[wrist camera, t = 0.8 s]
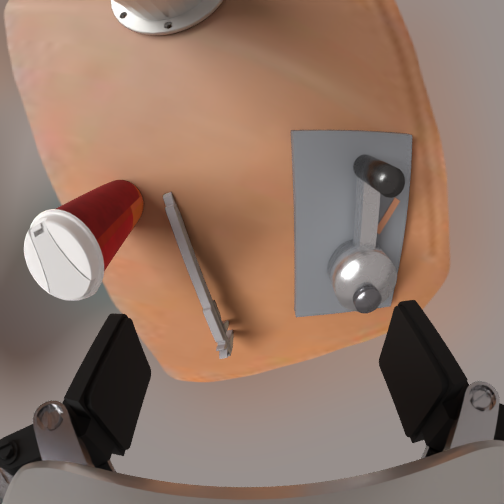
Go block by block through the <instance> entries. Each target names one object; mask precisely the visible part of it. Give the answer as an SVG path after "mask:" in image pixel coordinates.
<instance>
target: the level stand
mask: <svg viewBox="0 0 504 504" xmlns="http://www.w3.org/2000/svg"><path fill="white" fill-rule="evenodd" d="M291 145H292V168H293V196H294V246H295V307H294V310H295V315H296V317H304V316H314V315H324V314H334V313H343V312H351V311H352V310H349V309H346V308H345V307H343V306H342V305H341V304H340V302H339V301H338V299H337V296H336V294H335V292H334V289H333V287H332V284H331V282H330V280H329V277H328V273H327V267H328V262H329V259H330V257H331V255H332V254H333V252H334V251H335V250H336V249H337V248H338V247H339V246H340V245H342V244H343V243H345V242H347V241H349V240H351V239H354V226H355V210H356V188H357V176H356V175H355V173H354V170H353V165H354V162H355V160H356V159H357V158H358V157H359V156H361V155H364V154H367V155H370V156H372V157H375V158H377V159H379V160H381V161H384V162H386V163H388V164H390V165H392V166H394V167H397V168H398V169H400V170H401V171H402V172H403V174H404V177H405V186H404V189H403V190H402V192H401V193H400V194H399V195H398V196H396V197H393V198H388V197H385V196H383V195H382V194H381V193H380V206H379V218H378V228H377V238H376V244H377V245H378V246H379V247H380V248H381V249H382V251H383V252H384V253H385V254H386V255H387V257H388V258H389V259H390V260H391V262H392V263H393V264H394V266H395V268H396V271H397V273H398V268H399V263H400V257H401V251H402V245H403V239H404V232H405V225H406V217H407V208H408V199H409V188H410V175H411V158H412V135H410V134H406V133H394V132H379V131H359V130H291ZM393 293H394V290H393V292H392V293H391V295H390V296H389V297H388V298H387V299H386V300H385V301H384V302H383V303H382V304H380V305H379V306H378V307H377V308H382V307H389V306H391V302H392V297H393Z"/></svg>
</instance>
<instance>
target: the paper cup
mask: <svg viewBox="0 0 504 504" xmlns="http://www.w3.org/2000/svg"><path fill="white" fill-rule="evenodd" d="M142 212H143V198H142V195H141V193H140V191H139V190H138V189H137V187H136V186H134V185H133V184H132V183H130V182H128V181H125V180H116V181H112V182H109V183H107V184H105V185H102V186H100V187H98V188H96V189H94V190H92V191H90V192H88V193H86V194H84V195H82V196H80V197H78V198H76V199H74V200H72V201H70V202H68V203H66V204H64V205H62V206H60V207H58V208H57V209H50V210H46V211H44V212H42V213H40V214H39V215H38V216H37V217H36V218H35V219H34V220H33V222H32V224H31V226H30V229H29V230H28V233H27V235H26V238H25V242H24V254H25V259H26V263H27V266H28V268H29V270H30V272H31V274H32V276H33V277H34V279H35V280H36V282H37V283H38V284H39V285H40V286H41V287H42V288H43V289H44V290H45V291H47V292H48V293H49V294H51V295H53V296H55V297H58V298H60V299H64V300H81V299H83V298H87V297H90V296H92V295H93V294H95V293H96V292H97V289H98V288H99V286H100V284H101V282H102V279H103V276H104V271H105V269H106V268H107V266H108V265H109V263H110V262H111V260H112V259H113V257H114V256H115V254H116V253H117V251H118V250H119V248H120V247H121V245H122V244H123V242H124V241H125V239H126V238H127V236H128V235H129V233H130V232H131V231H132V229H133V228H134V226H135V225H136V223H137V222H138V220H139V218H140V217H141V215H142Z"/></svg>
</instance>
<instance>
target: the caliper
mask: <svg viewBox="0 0 504 504" xmlns="http://www.w3.org/2000/svg"><path fill="white" fill-rule="evenodd" d="M163 199H164V202H165V205H166V207H165V210H166V213H167V216H168V219H169V221H170V224H171V227H172V230H173V233H174V235H175V238H176V241H177V244H178V246H179V249H180V252H181V254H182V257H183V260H184V262H185V265H186V267H187V270H188V273H189V275H190V278H191V280H192V283H193V285H194V288H195V290H196V293H197V295H198V298H199V300H200V302H201V305H202V307H203V313H204V316H205V318H206V320H207V323H208V325H209V327H210V330H211V332H212V334H213V337H214V339H215V341H216V342H218V346H217V349H216V351H219V357H220V359H222V358H227V357H228V356H230V355H231V352H232V348H233V330H228V331H227V329H228V326H229V321H228V320H225V321H222V320H221V316H220V312H219V310H218V308H217V305H216V302H215V300H212V298H211V295H210V292H209V290H208V287H207V285H206V282H205V280H204V277H203V274H202V272H201V269H200V266H199V264H198V261H197V258H196V256H195V253H194V250H193V248H192V245H191V242H190V239H189V236H188V234H187V231H186V228H185V225H184V222H183V219H182V216H181V214H180V212H179V209H178V207H177V204H176V203H175V201H174V198H173V195H172V192H169V193H167V194H164V195H163Z"/></svg>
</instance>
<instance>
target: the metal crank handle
mask: <svg viewBox="0 0 504 504" xmlns="http://www.w3.org/2000/svg"><path fill="white" fill-rule="evenodd" d="M353 170H354V173H355V175H356V176H357V188H356V210H355V226H354V239H351V240H349V241H347V242H345V243H343V244H342V245H340V246H339V247H338V248H337V249H336V250H335V251H334V252H333V254H332V255H331V257H330V259H329V262H328V267H327V273H328V277H329V280H330V282H331V284H332V287H333V289H334V292H335V294H336V296H337V299H338V301H339V302H340V304H341V305H342V306H343V307H345V308H346V309H349V310H352V311H358V312H360V313H370V312H372V311H374V310H375V309H376V308H377V307H378V306H379V305H380V304H382V303H383V302H384V301H385V300H386V299H387V298H388V297H389V296H390V295H391V293H392V292H393V290H394V288H395V285H396V282H397V271H396V268H395V266H394V264H393V263H392V262H391V260H390V259H389V258H388V257H387V255H386V254H385V253H384V252H383V251H382V249H381V248H380V247H379V246H378V245H377V244H376V238H377V228H378V218H379V206H380V193H381V194H382V195H383V196H385V197H388V198H393V197H396V196H398V195H399V194H400V193H401V192H402V190H403V189H404V186H405V177H404V174H403V172H402V171H401V170H400V169H398V168H397V167H394V166H392V165H390V164H388V163H386V162H384V161H381V160H379V159H377V158H375V157H372V156H370V155H367V154H364V155H361V156H359V157H358V158H357V159H356V160H355V162H354V165H353Z"/></svg>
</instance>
